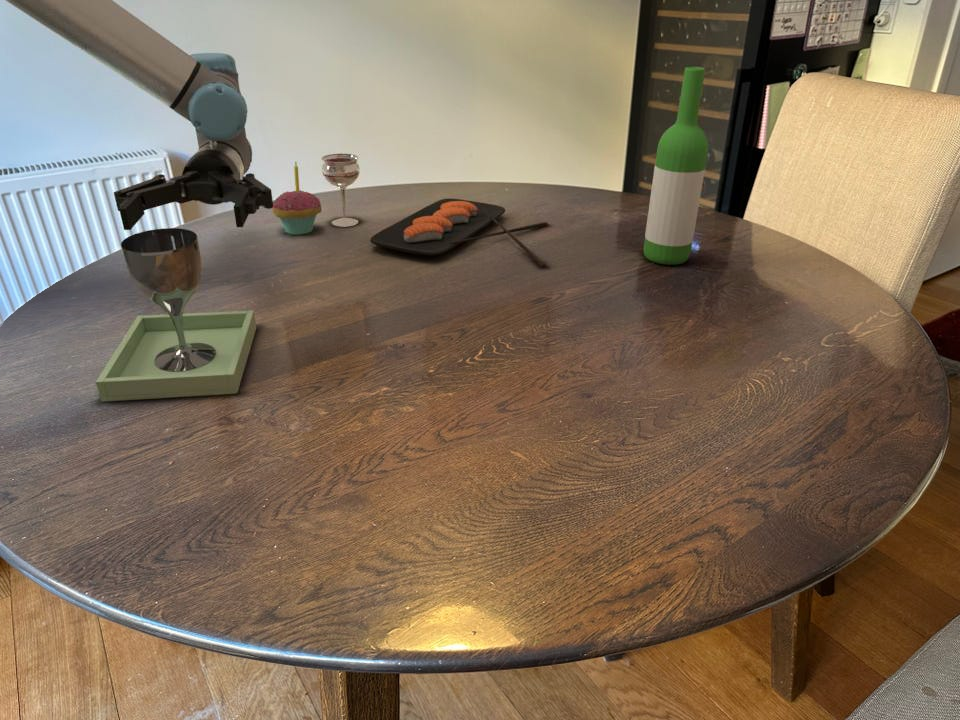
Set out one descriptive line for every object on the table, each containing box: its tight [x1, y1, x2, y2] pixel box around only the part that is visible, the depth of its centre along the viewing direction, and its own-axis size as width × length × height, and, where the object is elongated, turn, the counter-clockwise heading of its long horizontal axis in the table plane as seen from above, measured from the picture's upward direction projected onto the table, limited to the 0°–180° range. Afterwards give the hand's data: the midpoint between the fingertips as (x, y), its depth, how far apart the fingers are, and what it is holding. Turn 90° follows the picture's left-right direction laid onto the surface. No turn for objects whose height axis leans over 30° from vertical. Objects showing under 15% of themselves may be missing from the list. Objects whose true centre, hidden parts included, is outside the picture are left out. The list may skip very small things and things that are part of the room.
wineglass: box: [320, 152, 361, 228], centre depth 129 cm, size 7×7×12 cm
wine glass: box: [120, 227, 216, 372], centre depth 82 cm, size 8×8×15 cm
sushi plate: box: [369, 198, 548, 268], centre depth 124 cm, size 29×30×4 cm
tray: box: [95, 310, 257, 403], centre depth 85 cm, size 15×17×3 cm
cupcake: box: [272, 161, 322, 236], centre depth 125 cm, size 9×8×12 cm
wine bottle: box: [643, 66, 709, 266], centre depth 111 cm, size 8×8×30 cm
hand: (181, 218), depth 88 cm, fingers open, 13 cm apart
